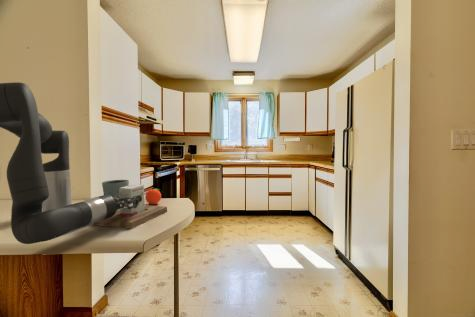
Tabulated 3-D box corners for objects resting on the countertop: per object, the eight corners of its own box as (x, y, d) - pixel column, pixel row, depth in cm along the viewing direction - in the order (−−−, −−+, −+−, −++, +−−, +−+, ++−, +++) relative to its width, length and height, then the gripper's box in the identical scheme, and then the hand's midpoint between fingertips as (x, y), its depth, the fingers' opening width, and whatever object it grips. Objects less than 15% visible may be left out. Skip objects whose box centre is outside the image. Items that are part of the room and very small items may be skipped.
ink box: (131, 221, 86) (130, 188, 85) (119, 220, 87) (118, 188, 86) (145, 214, 94) (144, 184, 93) (134, 213, 95) (133, 184, 94)
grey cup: (104, 214, 96) (102, 184, 95) (102, 208, 104) (100, 180, 103) (132, 210, 101) (130, 181, 100) (127, 205, 110) (126, 178, 109)
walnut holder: (93, 224, 83) (92, 218, 83) (134, 209, 102) (133, 204, 102) (131, 228, 79) (131, 222, 78) (167, 211, 98) (166, 206, 98)
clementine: (161, 201, 116) (160, 186, 116) (165, 204, 110) (165, 188, 110) (143, 203, 112) (143, 188, 111) (147, 206, 106) (147, 190, 105)
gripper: (114, 198, 73) (150, 188, 89) (77, 196, 77) (118, 187, 93) (115, 223, 73) (151, 208, 89) (79, 219, 77) (119, 206, 93)
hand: (134, 197), depth 91 cm, fingers closed on ink box, 5 cm apart
